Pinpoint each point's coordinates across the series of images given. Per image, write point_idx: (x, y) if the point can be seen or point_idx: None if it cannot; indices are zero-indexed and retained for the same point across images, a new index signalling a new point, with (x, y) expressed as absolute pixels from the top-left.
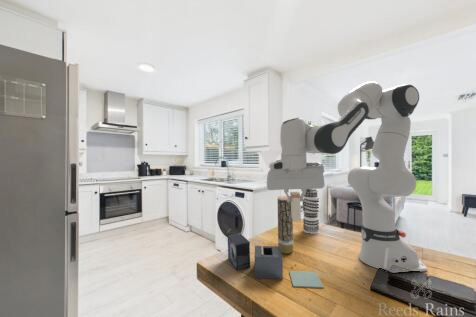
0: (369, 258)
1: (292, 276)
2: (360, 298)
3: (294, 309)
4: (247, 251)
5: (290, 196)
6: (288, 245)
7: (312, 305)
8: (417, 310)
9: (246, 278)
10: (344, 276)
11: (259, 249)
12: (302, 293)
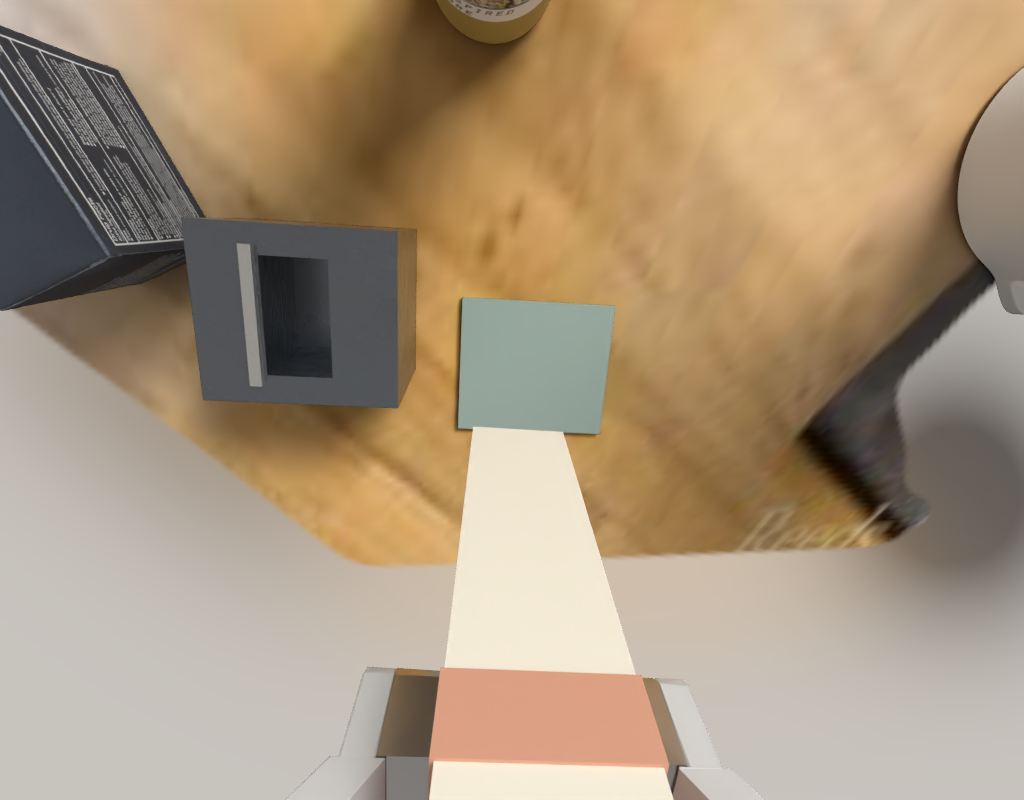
0: (1005, 220)
1: (470, 352)
2: (718, 488)
3: (435, 551)
4: (139, 260)
5: (413, 795)
6: (507, 21)
7: None
8: (874, 539)
9: None
10: (748, 336)
11: (228, 288)
12: None
